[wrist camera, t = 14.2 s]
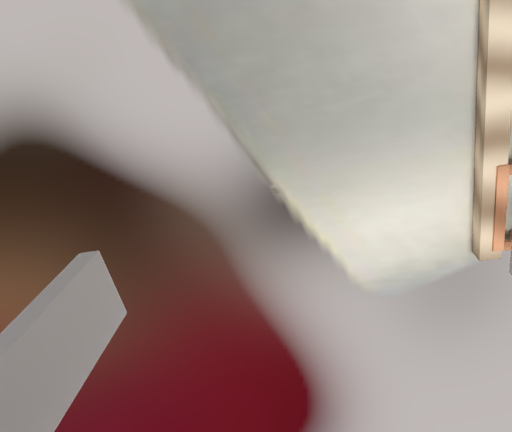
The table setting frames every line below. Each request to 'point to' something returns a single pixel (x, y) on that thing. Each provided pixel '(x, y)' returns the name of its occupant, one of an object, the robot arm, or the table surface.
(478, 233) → the wooden slide rule
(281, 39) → the table surface
